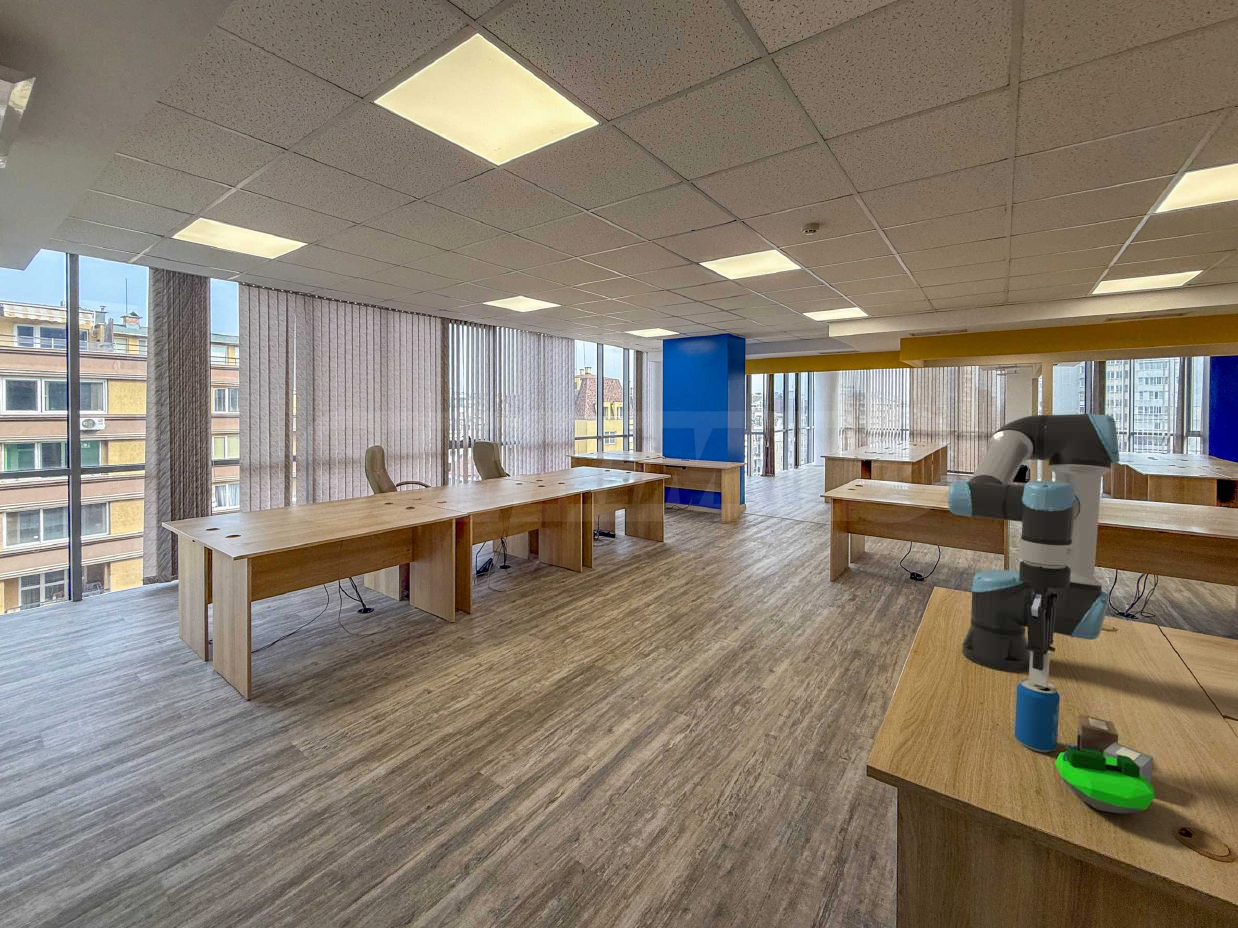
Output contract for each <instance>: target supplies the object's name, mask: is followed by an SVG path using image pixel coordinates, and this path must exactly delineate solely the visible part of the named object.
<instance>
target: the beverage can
mask: <svg viewBox="0 0 1238 928" xmlns="http://www.w3.org/2000/svg"><path fill="white" fill-rule="evenodd" d="M1015 699H1016V700H1015V701H1016V702H1015V703H1016V704H1015V721H1014V724H1015V725H1014V737H1015V739H1016V740H1017V741H1018V742H1019V743H1020V744H1021V745H1022V746H1023V747H1026V749H1029V750H1032V751H1035V752H1039V753H1049V752H1052V751H1055V750H1056V749H1058V734H1059V733H1058V732H1059V719H1060V718H1059V716H1060V715H1059V713H1060V700H1061V698H1060V694H1059V693H1058V688H1057V687H1056V686H1055V685H1053V684H1052V683H1050V682H1048V686H1047V687H1043V686H1040V685H1037V684H1033V683H1030V682H1029V677H1025V678H1021V679H1020V681H1019V683H1018V684H1017V685H1016V698H1015Z"/></svg>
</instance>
